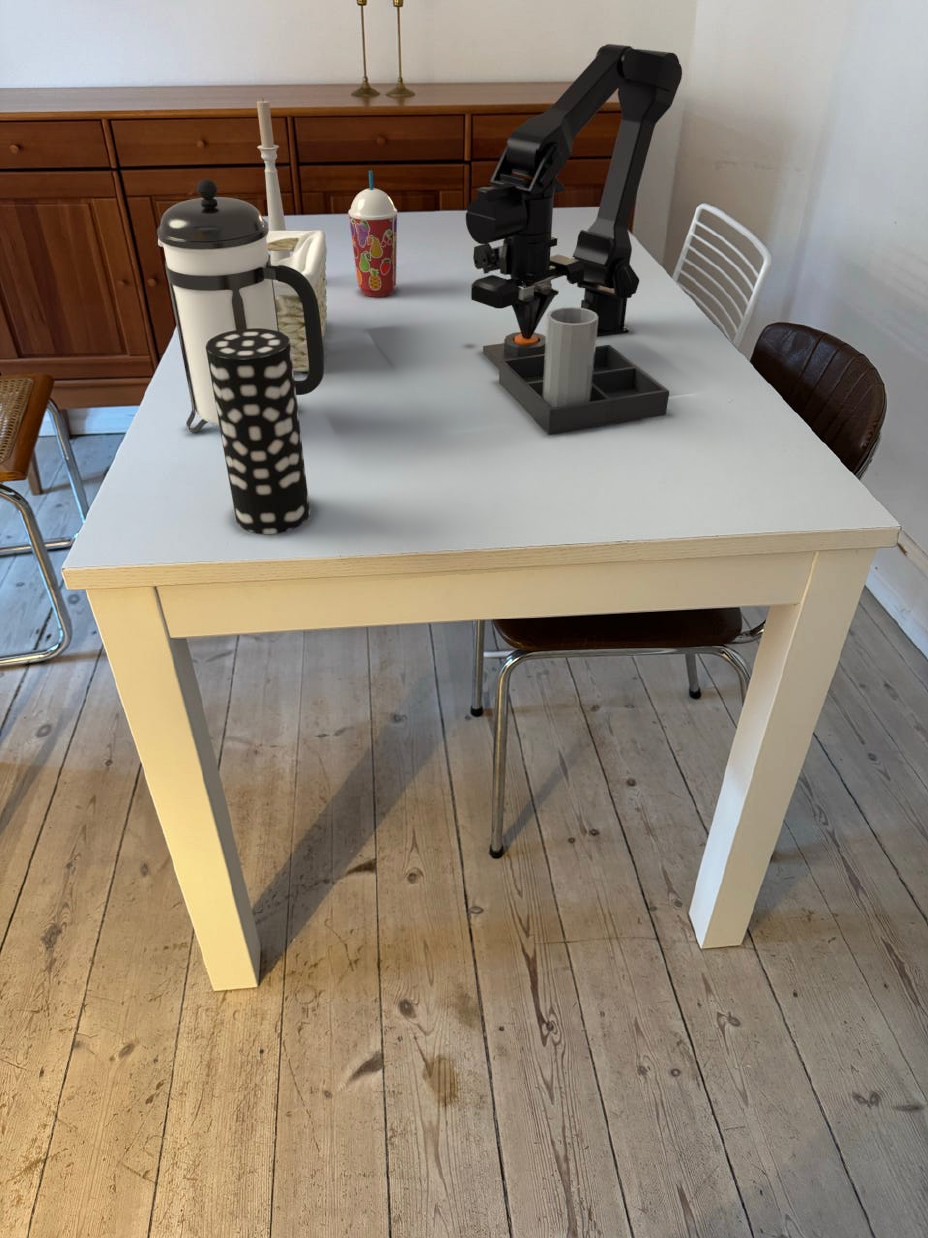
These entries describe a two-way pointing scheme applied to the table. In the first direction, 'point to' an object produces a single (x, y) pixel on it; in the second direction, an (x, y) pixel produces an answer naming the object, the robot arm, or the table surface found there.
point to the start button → (526, 340)
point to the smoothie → (374, 240)
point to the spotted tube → (260, 428)
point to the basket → (288, 304)
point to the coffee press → (226, 286)
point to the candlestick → (271, 176)
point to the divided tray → (613, 395)
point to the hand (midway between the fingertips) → (526, 337)
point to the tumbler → (569, 356)
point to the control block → (513, 349)
